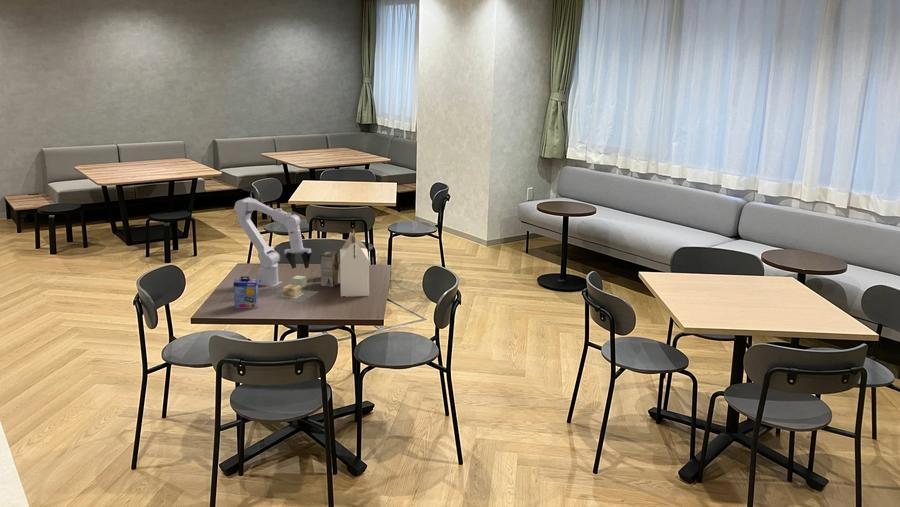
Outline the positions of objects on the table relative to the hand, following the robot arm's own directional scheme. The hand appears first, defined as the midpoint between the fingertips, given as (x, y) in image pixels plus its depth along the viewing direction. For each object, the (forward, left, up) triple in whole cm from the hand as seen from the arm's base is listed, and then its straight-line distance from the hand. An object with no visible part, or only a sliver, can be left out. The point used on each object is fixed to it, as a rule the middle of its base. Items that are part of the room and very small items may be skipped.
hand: (300, 267), depth 357 cm
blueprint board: (+3, -14, -10) cm, 17 cm away
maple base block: (+3, -14, -9) cm, 17 cm away
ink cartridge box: (-8, -35, -10) cm, 37 cm away
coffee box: (+11, +9, -10) cm, 17 cm away
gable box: (+25, +6, -10) cm, 28 cm away
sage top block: (-1, 0, -10) cm, 10 cm away
